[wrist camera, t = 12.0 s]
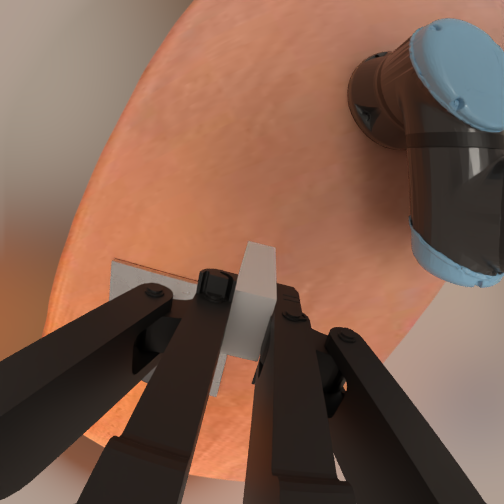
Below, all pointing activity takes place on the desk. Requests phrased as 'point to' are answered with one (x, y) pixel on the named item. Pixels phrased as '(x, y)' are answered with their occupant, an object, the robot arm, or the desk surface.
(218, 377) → the post plate
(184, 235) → the desk surface
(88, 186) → the desk surface
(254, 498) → the robot arm
